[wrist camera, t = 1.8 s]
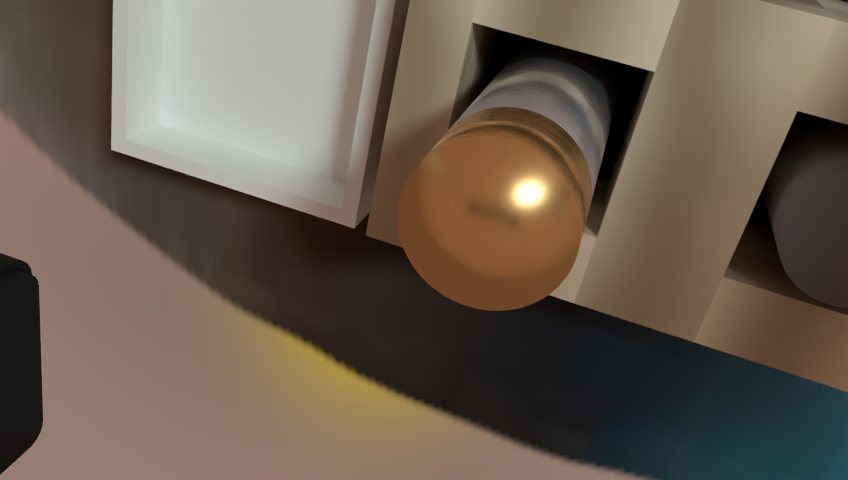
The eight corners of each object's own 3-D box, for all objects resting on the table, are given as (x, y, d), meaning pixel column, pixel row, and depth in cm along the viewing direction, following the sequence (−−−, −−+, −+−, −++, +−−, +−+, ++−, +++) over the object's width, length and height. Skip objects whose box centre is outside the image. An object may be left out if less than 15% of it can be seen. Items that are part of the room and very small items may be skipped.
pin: (634, 50, 26) (605, 171, 16) (598, 160, 28) (550, 334, 17) (518, 19, 27) (416, 115, 16) (490, 128, 29) (383, 278, 18)
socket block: (1058, 54, 23) (1172, 109, 18) (893, 333, 27) (943, 441, 22) (468, -92, 26) (414, -82, 20) (410, 182, 30) (354, 248, 25)
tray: (445, -132, 25) (419, -132, 23) (381, 198, 31) (354, 228, 28) (170, -199, 27) (115, -206, 24) (156, 127, 33) (111, 149, 30)
